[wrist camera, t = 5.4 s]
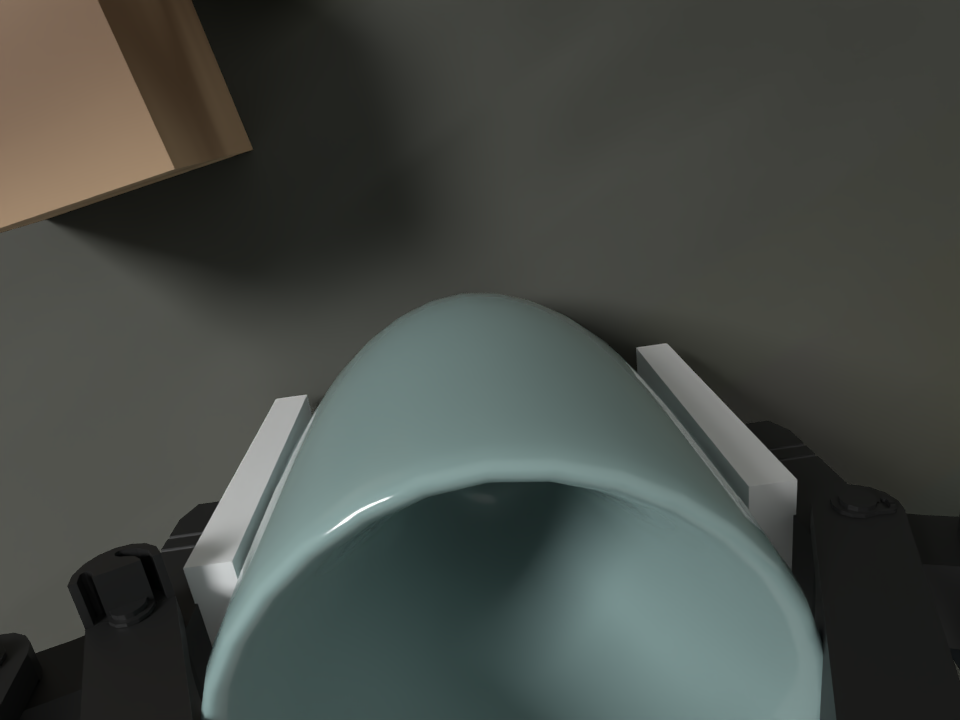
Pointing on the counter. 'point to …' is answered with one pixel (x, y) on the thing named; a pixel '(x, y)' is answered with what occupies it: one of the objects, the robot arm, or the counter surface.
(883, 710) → the robot arm
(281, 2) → the counter surface
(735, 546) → the cup
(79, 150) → the walnut cube
